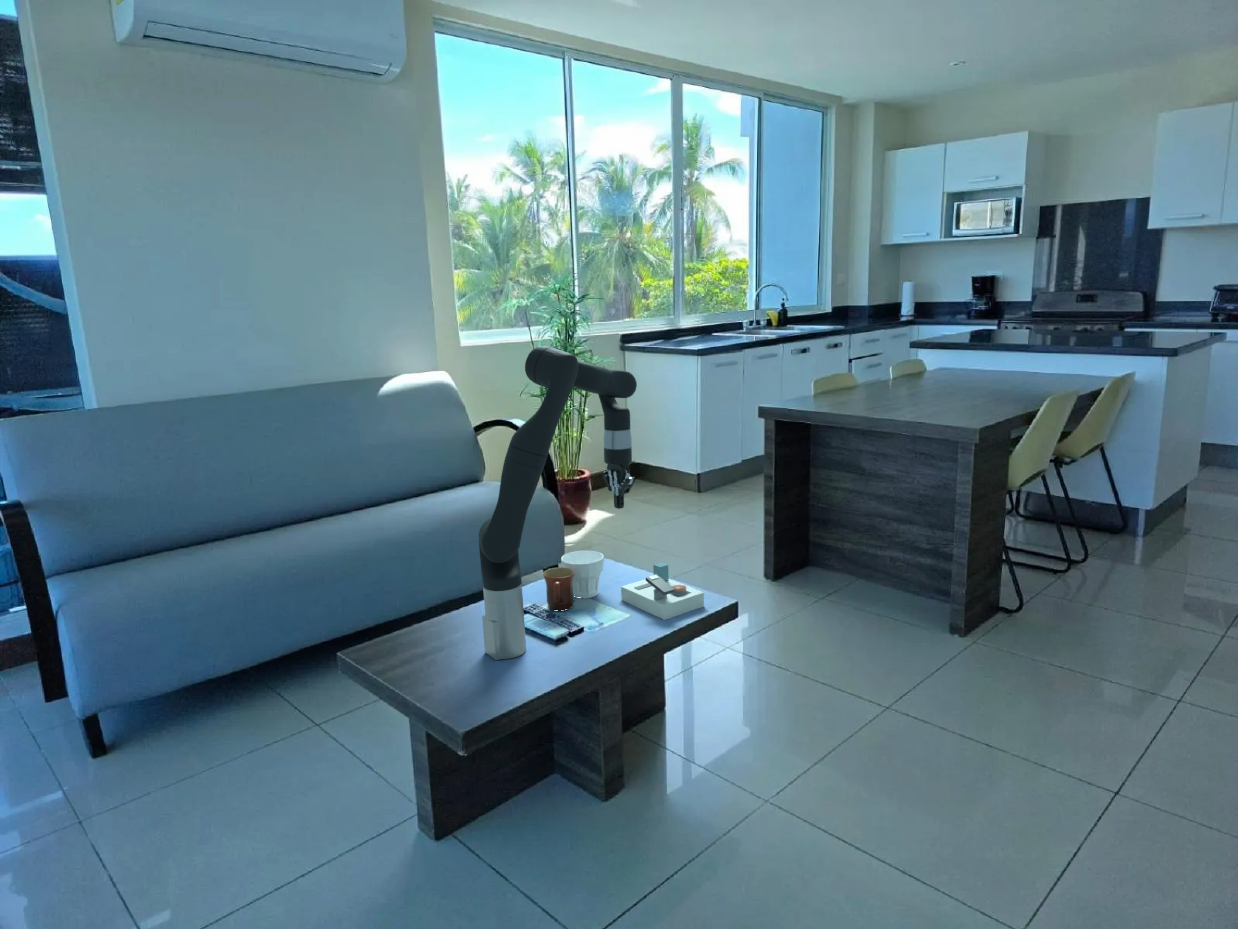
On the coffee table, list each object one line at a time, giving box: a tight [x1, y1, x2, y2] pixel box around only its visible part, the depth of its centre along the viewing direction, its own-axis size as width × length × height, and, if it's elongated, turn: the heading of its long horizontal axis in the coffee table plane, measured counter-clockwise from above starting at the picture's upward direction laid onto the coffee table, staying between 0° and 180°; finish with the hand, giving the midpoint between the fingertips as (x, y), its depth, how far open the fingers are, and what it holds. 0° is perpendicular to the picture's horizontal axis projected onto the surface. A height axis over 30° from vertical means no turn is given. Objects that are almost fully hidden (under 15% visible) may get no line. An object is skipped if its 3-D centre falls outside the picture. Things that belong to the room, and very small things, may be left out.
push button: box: [672, 584, 687, 597], centre depth 216 cm, size 4×4×5 cm
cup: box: [560, 550, 605, 599], centre depth 228 cm, size 12×12×11 cm
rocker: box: [645, 574, 675, 595], centre depth 211 cm, size 4×8×1 cm, turn 36°
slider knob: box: [652, 562, 670, 581], centre depth 224 cm, size 3×3×4 cm
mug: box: [542, 566, 575, 612], centre depth 217 cm, size 12×9×10 cm
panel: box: [620, 578, 705, 621], centre depth 219 cm, size 14×19×7 cm
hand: (618, 507), depth 216 cm, fingers closed
